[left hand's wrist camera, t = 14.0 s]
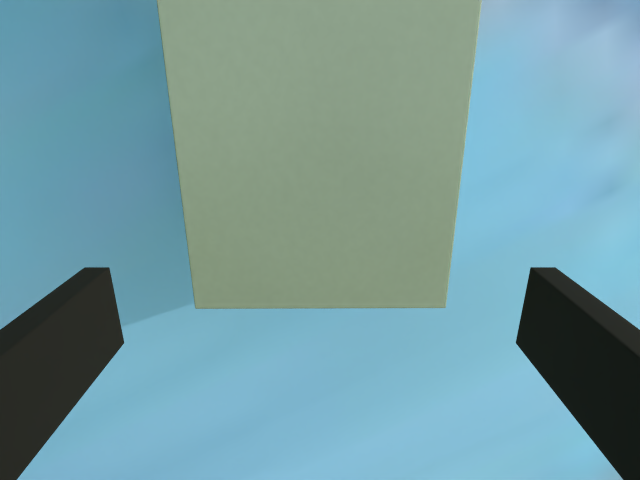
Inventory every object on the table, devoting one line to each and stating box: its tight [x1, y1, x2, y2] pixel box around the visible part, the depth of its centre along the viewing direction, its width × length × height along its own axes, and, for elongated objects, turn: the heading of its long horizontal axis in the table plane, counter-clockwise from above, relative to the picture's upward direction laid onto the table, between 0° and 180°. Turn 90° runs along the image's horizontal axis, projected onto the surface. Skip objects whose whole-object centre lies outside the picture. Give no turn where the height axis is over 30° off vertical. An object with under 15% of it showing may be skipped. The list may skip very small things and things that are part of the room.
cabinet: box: [157, 0, 482, 309], centre depth 20 cm, size 20×12×10 cm, turn 0°
